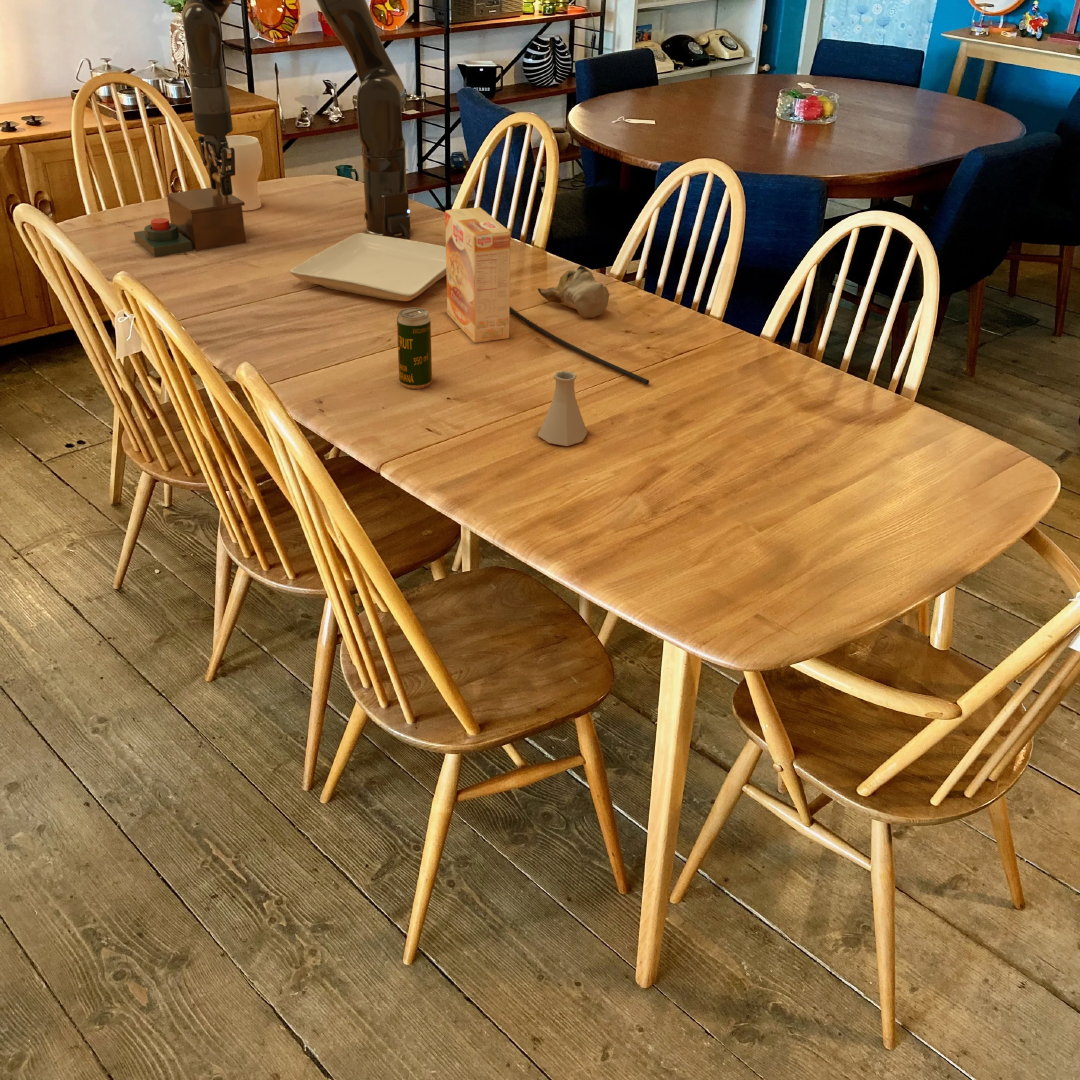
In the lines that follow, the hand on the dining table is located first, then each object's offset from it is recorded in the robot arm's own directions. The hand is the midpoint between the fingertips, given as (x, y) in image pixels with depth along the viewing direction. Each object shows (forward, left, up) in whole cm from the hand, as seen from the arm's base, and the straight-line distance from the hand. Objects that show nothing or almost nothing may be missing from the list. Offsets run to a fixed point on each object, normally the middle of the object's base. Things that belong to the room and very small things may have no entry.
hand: (221, 191), depth 236 cm
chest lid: (0, +4, -2) cm, 4 cm away
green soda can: (-87, +4, -10) cm, 88 cm away
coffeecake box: (-72, -18, -10) cm, 75 cm away
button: (0, +14, -6) cm, 15 cm away
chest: (0, +4, -9) cm, 10 cm away
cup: (+18, -12, -10) cm, 24 cm away
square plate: (-41, -16, -10) cm, 45 cm away
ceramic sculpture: (-75, -39, -10) cm, 85 cm away
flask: (-115, -5, -10) cm, 115 cm away
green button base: (0, +14, -9) cm, 17 cm away
